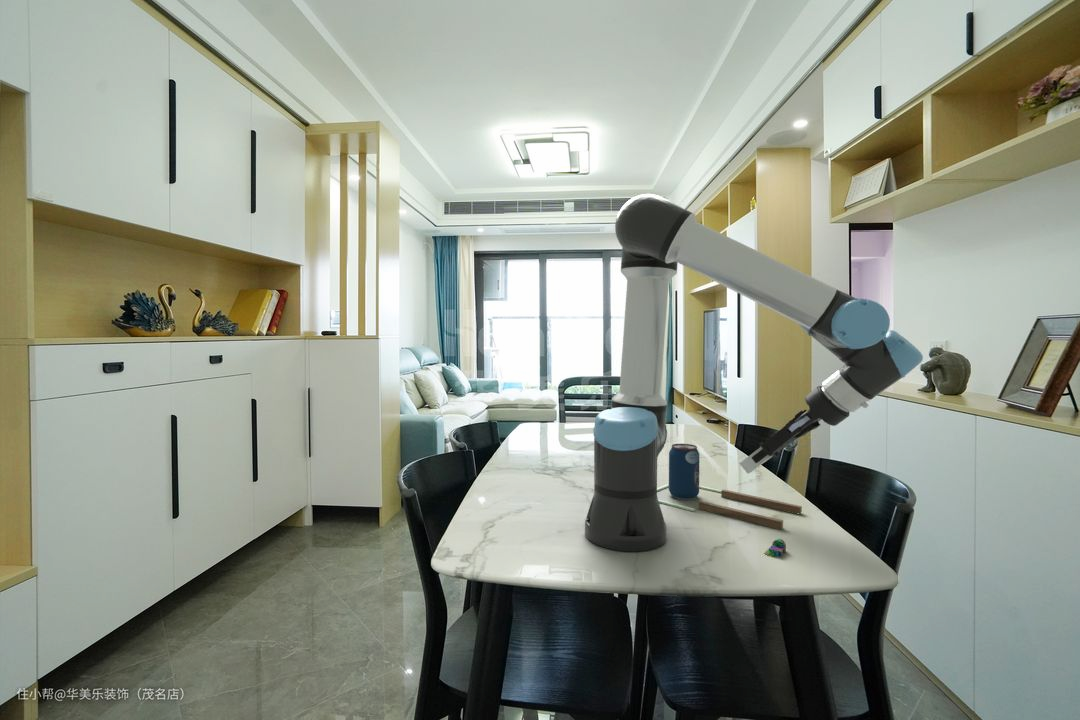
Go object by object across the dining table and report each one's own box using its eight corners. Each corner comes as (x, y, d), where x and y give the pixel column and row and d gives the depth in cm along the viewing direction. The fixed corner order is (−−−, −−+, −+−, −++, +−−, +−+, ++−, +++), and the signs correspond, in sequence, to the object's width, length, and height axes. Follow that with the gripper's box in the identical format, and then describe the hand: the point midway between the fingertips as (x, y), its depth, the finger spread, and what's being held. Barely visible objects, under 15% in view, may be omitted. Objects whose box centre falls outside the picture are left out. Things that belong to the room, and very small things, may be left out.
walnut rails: (780, 529, 93) (781, 522, 93) (698, 508, 105) (698, 502, 105) (801, 513, 102) (801, 506, 102) (723, 495, 114) (723, 489, 114)
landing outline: (693, 511, 103) (693, 509, 103) (638, 497, 113) (638, 495, 113) (727, 493, 116) (728, 491, 116) (676, 481, 125) (676, 480, 125)
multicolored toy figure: (768, 549, 85) (768, 536, 85) (785, 553, 83) (786, 540, 83) (761, 557, 82) (761, 543, 82) (779, 561, 80) (779, 547, 80)
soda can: (703, 500, 110) (703, 449, 110) (672, 500, 110) (673, 449, 110) (693, 491, 117) (694, 443, 117) (665, 491, 117) (665, 443, 117)
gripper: (842, 417, 85) (745, 489, 98) (859, 411, 95) (767, 477, 107) (810, 385, 89) (720, 458, 101) (829, 382, 98) (744, 449, 111)
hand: (744, 468), depth 104 cm, fingers closed
